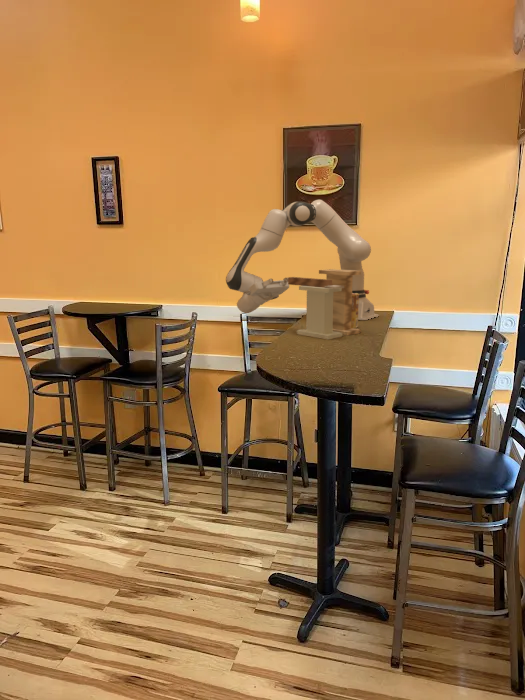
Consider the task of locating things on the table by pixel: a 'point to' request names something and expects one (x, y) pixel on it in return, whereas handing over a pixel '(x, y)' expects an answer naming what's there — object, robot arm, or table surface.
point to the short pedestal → (319, 313)
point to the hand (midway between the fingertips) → (279, 279)
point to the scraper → (313, 282)
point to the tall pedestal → (342, 300)
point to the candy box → (355, 310)
